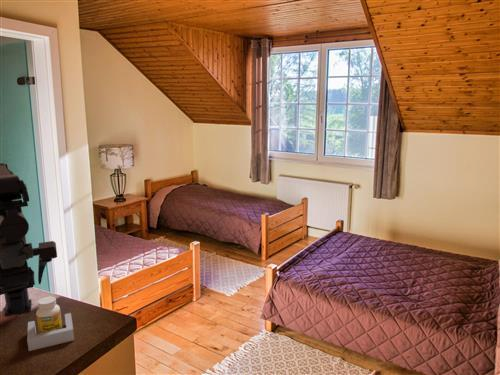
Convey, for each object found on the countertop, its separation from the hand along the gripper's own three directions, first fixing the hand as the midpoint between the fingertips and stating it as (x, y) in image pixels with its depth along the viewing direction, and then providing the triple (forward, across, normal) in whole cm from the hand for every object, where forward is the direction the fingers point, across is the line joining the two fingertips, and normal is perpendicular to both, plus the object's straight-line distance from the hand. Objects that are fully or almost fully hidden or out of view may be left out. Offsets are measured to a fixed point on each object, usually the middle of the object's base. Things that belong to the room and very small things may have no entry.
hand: (19, 287), depth 105 cm
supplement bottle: (+12, +6, -5) cm, 14 cm away
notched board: (+12, +6, -6) cm, 15 cm away
